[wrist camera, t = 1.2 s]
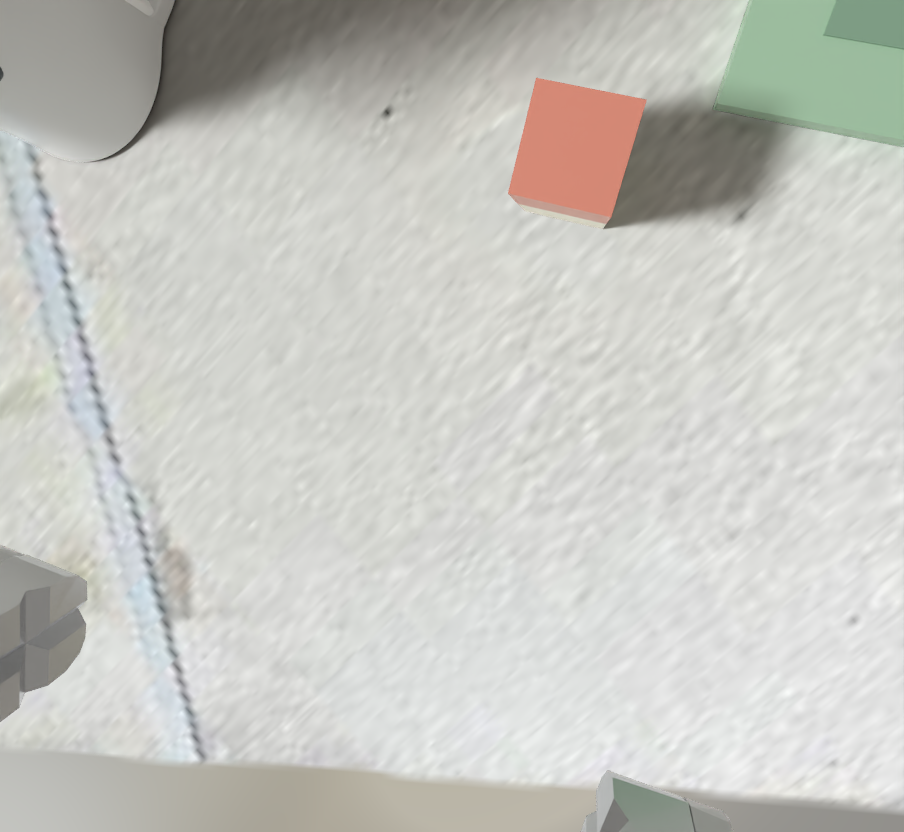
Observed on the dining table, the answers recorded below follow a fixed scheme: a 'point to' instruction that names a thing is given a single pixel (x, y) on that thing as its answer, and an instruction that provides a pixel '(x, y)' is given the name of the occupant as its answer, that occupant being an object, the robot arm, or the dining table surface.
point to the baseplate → (820, 67)
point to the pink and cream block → (574, 152)
